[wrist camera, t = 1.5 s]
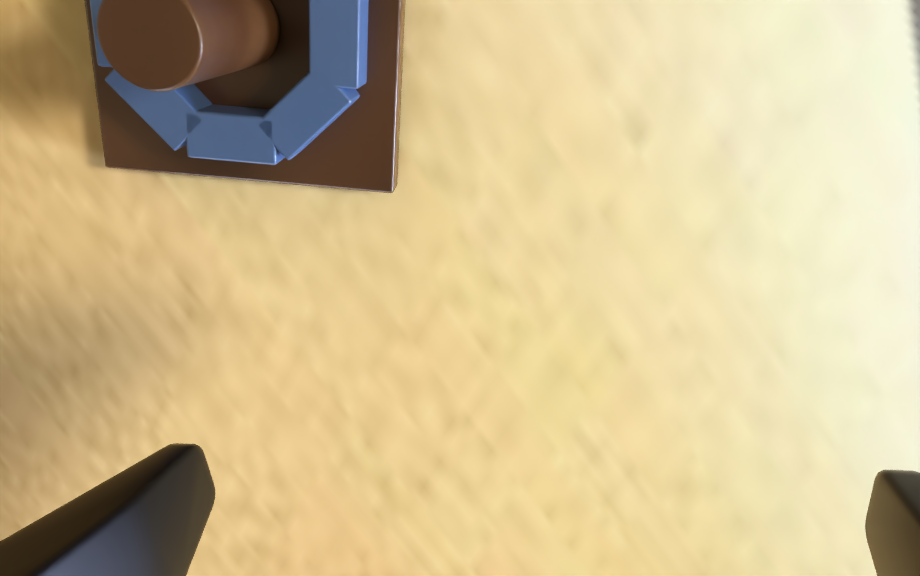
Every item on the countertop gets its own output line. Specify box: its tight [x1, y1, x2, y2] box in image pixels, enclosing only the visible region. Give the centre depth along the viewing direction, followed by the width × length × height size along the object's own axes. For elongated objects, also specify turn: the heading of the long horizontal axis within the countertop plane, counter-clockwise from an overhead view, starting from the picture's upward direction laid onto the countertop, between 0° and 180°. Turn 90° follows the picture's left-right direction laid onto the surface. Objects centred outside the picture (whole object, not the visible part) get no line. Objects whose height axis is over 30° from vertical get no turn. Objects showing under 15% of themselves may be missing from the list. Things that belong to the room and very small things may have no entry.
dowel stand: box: [85, 0, 405, 193], centre depth 15 cm, size 8×8×6 cm
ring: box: [90, 0, 369, 165], centre depth 17 cm, size 6×6×1 cm
